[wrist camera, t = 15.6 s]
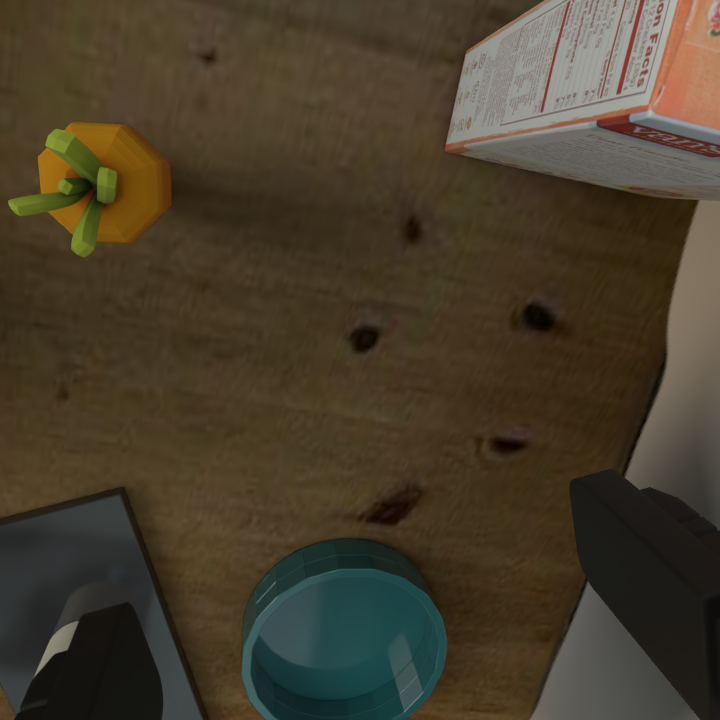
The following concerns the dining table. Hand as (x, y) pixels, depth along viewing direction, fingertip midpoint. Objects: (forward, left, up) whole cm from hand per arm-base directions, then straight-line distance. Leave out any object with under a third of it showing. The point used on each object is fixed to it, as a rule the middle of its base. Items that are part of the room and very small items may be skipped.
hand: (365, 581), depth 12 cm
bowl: (-2, -23, -28) cm, 36 cm away
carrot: (-6, +8, -28) cm, 30 cm away
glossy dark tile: (-18, -19, -28) cm, 38 cm away
